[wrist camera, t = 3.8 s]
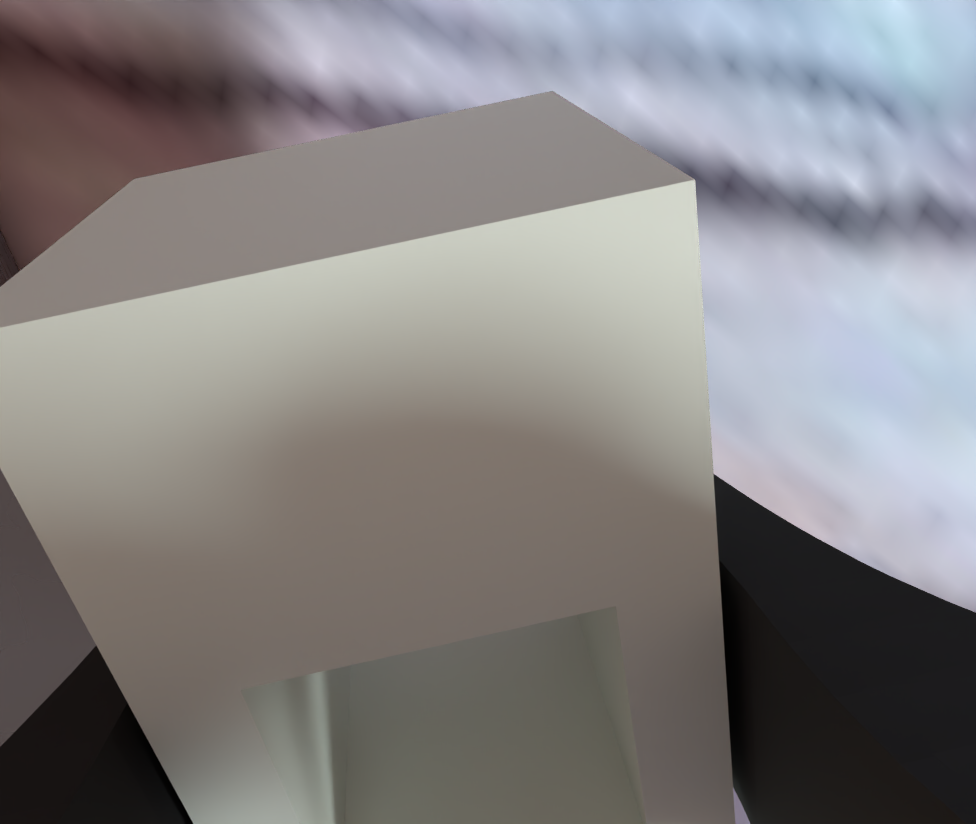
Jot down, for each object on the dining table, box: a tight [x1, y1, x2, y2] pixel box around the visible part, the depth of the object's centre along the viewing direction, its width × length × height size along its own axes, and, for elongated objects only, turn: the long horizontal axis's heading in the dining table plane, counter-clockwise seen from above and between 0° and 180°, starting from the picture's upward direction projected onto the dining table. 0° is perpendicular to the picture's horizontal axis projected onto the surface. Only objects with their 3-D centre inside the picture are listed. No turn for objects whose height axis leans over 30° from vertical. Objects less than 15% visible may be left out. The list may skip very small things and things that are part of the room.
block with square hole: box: [0, 91, 735, 824], centre depth 10 cm, size 10×5×5 cm, turn 10°
